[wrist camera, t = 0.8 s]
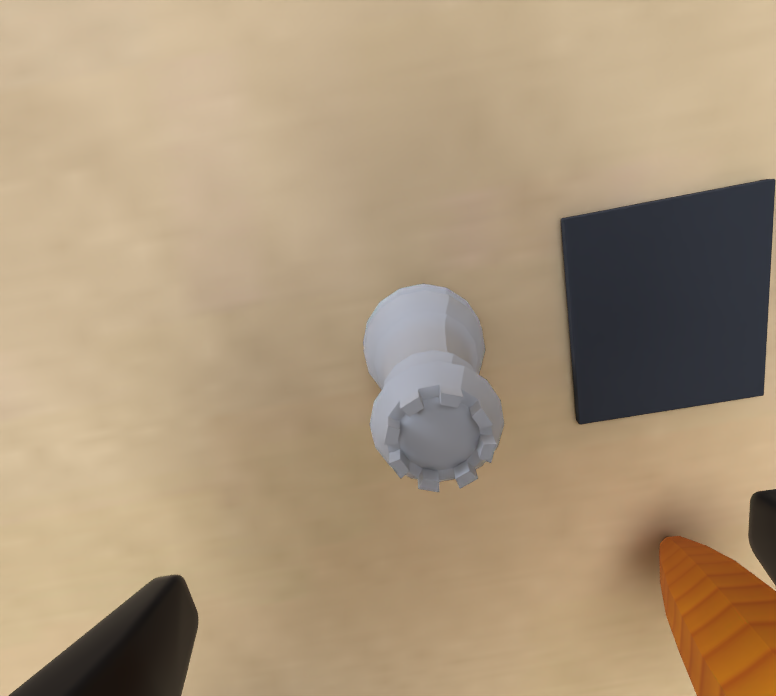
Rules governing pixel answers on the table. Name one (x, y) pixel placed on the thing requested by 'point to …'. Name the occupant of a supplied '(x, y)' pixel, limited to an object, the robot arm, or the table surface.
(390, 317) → the rook chess piece
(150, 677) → the robot arm
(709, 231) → the coaster
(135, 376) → the table surface
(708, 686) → the carrot
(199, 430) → the table surface
